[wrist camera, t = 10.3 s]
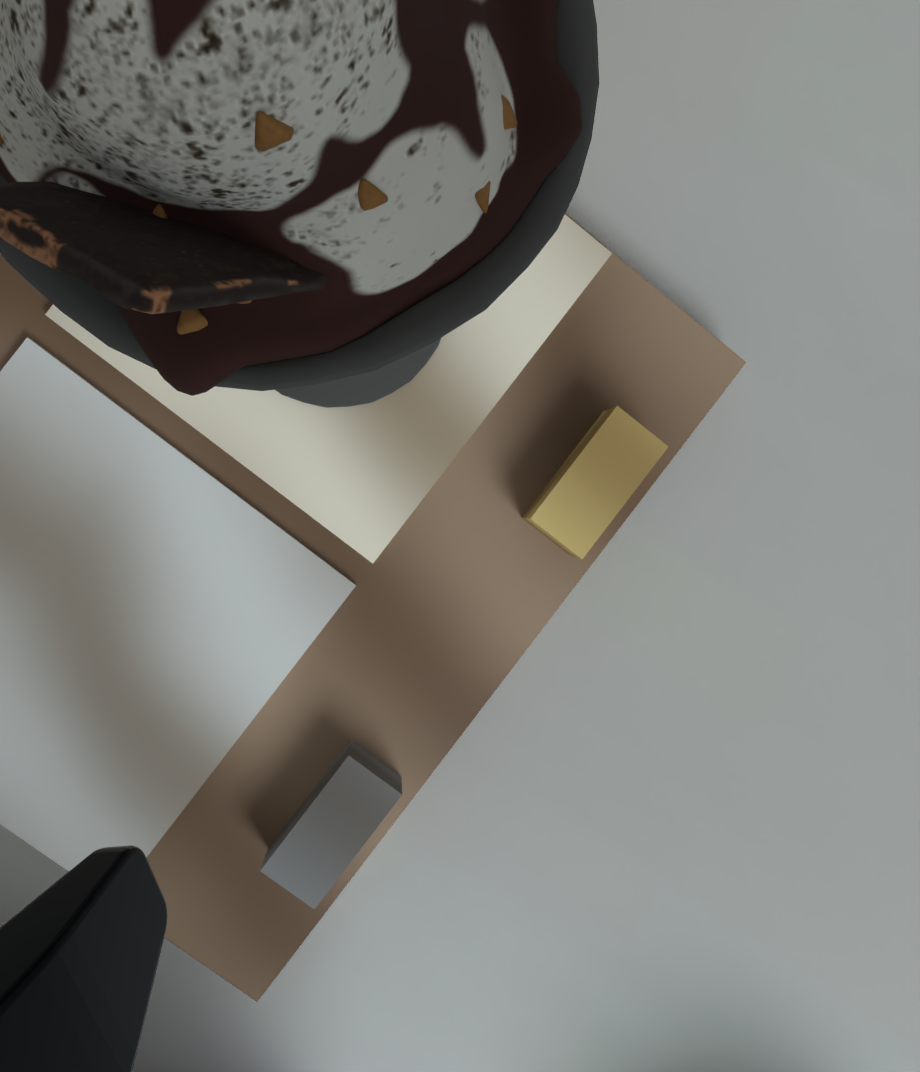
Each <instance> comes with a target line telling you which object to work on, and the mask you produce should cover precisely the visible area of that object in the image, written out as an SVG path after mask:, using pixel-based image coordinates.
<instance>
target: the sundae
mask: <svg viewBox="0 0 920 1072" xmlns="http://www.w3.org/2000/svg"><path fill="white" fill-rule="evenodd" d="M598 87H599V69H598V46H597V24H596V17H595V11H594V4H593V0H0V252H1V254H2V255H3V257H4V258H5V260H6V261H7V262H8V263H9V264H10V265H11V266H12V267H13V268H14V269H15V270H16V271H18V272H19V273H20V274H21V275H22V276H23V277H24V278H25V279H26V280H27V281H28V282H30V283H31V284H32V285H33V286H34V287H35V288H36V289H37V290H38V291H39V292H40V293H42V294H43V295H44V296H45V297H46V298H47V299H48V300H49V301H50V302H51V303H52V304H53V305H55V306H56V307H57V308H58V309H59V310H60V311H61V312H63V313H64V314H65V315H67V316H68V317H69V318H71V319H72V320H73V321H75V322H76V323H77V324H79V325H80V326H81V327H83V328H84V329H86V330H87V331H88V332H90V333H91V334H92V335H94V336H95V337H96V338H98V339H99V340H100V341H102V342H103V343H104V344H106V345H107V346H108V347H110V348H112V349H114V350H117V351H119V352H121V353H123V354H125V355H127V356H129V357H131V358H133V359H135V360H137V361H139V362H142V363H144V364H146V365H148V366H150V367H152V368H154V369H156V370H157V371H158V372H159V374H160V375H161V376H162V377H163V379H164V380H165V381H166V382H168V383H169V384H170V385H171V386H172V387H173V388H174V389H176V390H177V391H179V392H182V393H185V394H188V395H191V396H194V395H198V394H201V393H205V392H207V391H209V390H210V389H212V388H213V387H226V388H236V389H246V390H256V391H267V390H276V391H277V392H279V393H280V394H282V395H284V396H287V397H289V398H292V399H295V400H298V401H301V402H303V403H308V404H312V405H317V406H321V407H326V408H330V407H350V406H355V405H361V404H367V403H372V402H374V401H376V400H378V399H380V398H383V397H385V396H387V395H389V394H391V393H393V392H394V391H396V390H397V389H399V388H401V387H402V386H404V385H405V384H407V383H408V382H410V381H411V380H412V379H413V378H414V377H415V376H416V375H417V374H418V372H419V371H420V370H421V369H422V368H423V367H424V366H425V365H426V363H427V362H428V360H429V359H430V358H431V356H432V355H433V353H434V352H435V350H436V349H437V347H438V346H439V343H440V340H441V337H443V336H445V335H446V334H448V333H449V332H451V331H453V330H454V329H456V328H458V327H459V326H461V325H462V324H464V323H466V322H467V321H469V320H470V319H472V318H474V317H475V316H477V315H478V314H480V313H482V312H483V311H485V310H486V309H487V308H488V307H489V306H490V305H491V304H492V303H493V302H494V301H495V300H496V299H497V298H498V297H499V296H500V295H501V294H502V293H503V292H504V291H505V290H506V289H507V288H508V287H509V286H510V285H511V284H512V283H513V282H514V281H515V280H516V279H517V278H518V277H519V276H520V275H521V274H522V273H523V272H524V271H525V270H526V269H527V268H528V267H529V265H530V264H531V263H532V262H533V260H534V259H535V258H536V256H537V255H538V254H539V253H540V251H541V250H542V249H543V247H544V246H545V245H546V244H547V242H548V241H549V240H550V239H551V237H552V236H553V235H554V233H555V232H556V231H557V230H558V228H559V225H560V223H561V221H562V219H563V217H564V215H565V212H566V210H567V208H568V206H569V204H570V202H571V200H572V197H573V195H574V193H575V191H576V189H577V187H578V184H579V180H580V177H581V173H582V170H583V166H584V163H585V159H586V156H587V152H588V149H589V145H590V142H591V137H592V130H593V123H594V116H595V108H596V101H597V94H598Z"/></svg>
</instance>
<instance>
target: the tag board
mask: <svg viewBox="0 0 920 1072" xmlns="http://www.w3.org/2000/svg"><path fill="white" fill-rule="evenodd" d="M745 363H746V362H745V361H744V360H743V359H742V358H740V357H739V356H738V355H737V354H736V353H734V352H733V351H732V350H731V349H729V348H728V347H727V346H726V345H725V344H723V343H722V342H721V341H720V340H719V339H717V338H716V337H715V336H714V335H713V334H711V333H710V332H709V331H708V330H706V329H705V328H704V327H703V326H702V325H700V324H699V323H698V322H697V321H696V320H694V319H693V318H692V317H691V316H689V315H688V314H687V313H686V312H685V311H683V310H682V309H681V308H680V307H679V306H677V305H676V304H675V303H674V302H672V301H671V300H670V299H669V298H668V297H666V296H665V295H664V294H663V293H662V292H660V291H659V290H658V289H657V288H655V287H654V286H653V285H652V284H651V283H649V282H648V281H647V280H646V279H645V278H643V277H642V276H641V275H640V274H638V273H637V272H636V271H635V270H634V269H632V268H631V267H630V266H629V265H628V264H626V263H625V262H624V261H623V260H621V259H620V258H619V257H618V256H617V255H615V254H614V253H613V252H612V251H611V250H609V249H608V248H607V247H606V246H605V245H603V244H602V243H601V242H600V241H598V240H597V239H596V238H595V237H594V236H592V235H591V234H590V233H589V232H588V231H586V230H585V229H584V228H583V227H581V226H580V225H579V224H578V223H577V222H575V221H574V220H573V219H572V218H571V217H569V216H568V215H567V214H566V213H565V215H564V217H563V219H562V221H561V223H560V225H559V228H558V230H557V231H556V232H555V233H554V235H553V236H552V237H551V239H550V240H549V241H548V242H547V244H546V245H545V246H544V247H543V249H542V250H541V251H540V253H539V254H538V255H537V256H536V258H535V259H534V260H533V262H532V263H531V264H530V265H529V267H528V268H527V269H526V270H525V271H524V272H523V273H522V274H521V275H520V276H519V277H518V278H517V279H516V280H515V281H514V282H513V283H512V284H511V285H510V286H509V287H508V288H507V289H506V290H505V291H504V292H503V293H502V294H501V295H500V296H499V297H498V298H497V299H496V300H495V301H494V302H493V303H492V304H491V305H490V306H489V307H488V308H487V309H486V310H485V311H483V312H482V313H480V314H478V315H477V316H475V317H474V318H472V319H470V320H469V321H467V322H466V323H464V324H462V325H461V326H459V327H458V328H456V329H454V330H453V331H451V332H449V333H448V334H446V335H445V336H443V337H441V340H440V343H439V346H438V347H437V349H436V350H435V352H434V353H433V355H432V356H431V358H430V359H429V360H428V362H427V363H426V365H425V366H424V367H423V368H422V369H421V370H420V371H419V372H418V374H417V375H416V376H415V377H414V378H413V379H412V380H411V381H410V382H408V383H407V384H405V385H404V386H402V387H401V388H399V389H397V390H396V391H394V392H393V393H391V394H389V395H387V396H385V397H383V398H380V399H378V400H376V401H374V402H372V403H367V404H361V405H355V406H350V407H330V408H326V407H321V406H317V405H312V404H308V403H303V402H301V401H298V400H295V399H292V398H289V397H287V396H284V395H282V394H280V393H279V392H277V391H276V390H267V391H256V390H246V389H236V388H226V387H213V388H212V389H210V390H209V391H207V392H205V393H201V394H198V395H194V396H191V395H188V394H185V393H182V392H179V391H177V390H176V389H174V388H173V387H172V386H171V385H170V384H169V383H168V382H166V381H165V380H164V379H163V377H162V376H161V375H160V374H159V372H158V371H157V370H156V369H154V368H152V367H150V366H148V365H146V364H144V363H142V362H139V361H137V360H135V359H133V358H131V357H129V356H127V355H125V354H123V353H121V352H119V351H117V350H114V349H112V348H110V347H108V346H107V345H106V344H104V343H103V342H102V341H100V340H99V339H98V338H96V337H95V336H94V335H92V334H91V333H90V332H88V331H87V330H86V329H84V328H83V327H81V326H80V325H79V324H77V323H76V322H75V321H73V320H72V319H71V318H69V317H68V316H67V315H65V314H64V313H63V312H61V311H60V310H59V309H58V308H57V307H56V306H55V305H53V304H52V303H51V302H50V301H49V300H48V299H47V298H46V297H45V296H44V295H43V294H42V293H40V292H39V291H38V290H37V289H36V288H35V287H34V286H33V285H32V284H31V283H30V282H28V281H27V280H26V279H25V278H24V277H23V276H22V275H21V274H20V273H19V272H18V271H16V270H15V269H14V268H13V267H12V266H11V265H10V264H9V263H8V262H7V261H6V260H5V258H4V257H3V255H2V256H1V257H0V824H1V825H2V826H3V827H5V828H6V829H8V830H9V831H11V832H12V833H14V834H15V835H16V836H18V837H19V838H21V839H22V840H24V841H25V842H27V843H28V844H29V845H31V846H32V847H34V848H35V849H37V850H38V851H39V852H41V853H42V854H44V855H45V856H47V857H48V858H50V859H51V860H52V861H54V862H55V863H57V864H58V865H60V866H61V867H63V868H64V869H65V870H67V871H68V872H69V871H70V870H71V869H73V868H74V867H75V866H76V865H78V864H79V863H80V862H81V861H82V860H84V859H85V858H86V857H87V856H88V855H90V854H91V853H92V852H94V851H96V850H98V849H101V848H104V847H117V846H129V845H132V846H137V847H138V848H140V849H141V850H142V851H143V852H144V854H145V856H146V858H147V860H148V863H149V865H150V867H151V870H152V872H153V874H154V876H155V879H156V881H157V883H158V885H159V888H160V890H161V892H162V894H163V897H164V899H165V902H166V907H167V926H166V931H165V935H164V938H166V939H167V940H169V941H170V942H171V943H173V944H174V945H176V946H177V947H179V948H180V949H182V950H183V951H184V952H186V953H187V954H189V955H190V956H192V957H193V958H195V959H196V960H197V961H199V962H200V963H202V964H203V965H205V966H206V967H207V968H209V969H210V970H212V971H213V972H215V973H216V974H218V975H219V976H220V977H222V978H223V979H225V980H226V981H228V982H229V983H231V984H232V985H233V986H235V987H236V988H238V989H239V990H241V991H242V992H243V993H245V994H246V995H248V996H249V997H251V998H252V999H254V1000H255V1001H256V1002H257V1001H258V1000H259V999H260V997H261V996H262V995H263V994H264V992H265V991H266V990H267V988H268V987H269V986H270V984H271V983H272V982H273V980H274V979H275V978H276V977H277V975H278V974H279V973H280V971H281V970H282V969H283V967H284V966H285V965H286V963H287V962H288V961H289V959H290V958H291V957H292V956H293V954H294V953H295V952H296V950H297V949H298V948H299V946H300V945H301V944H302V942H303V941H304V940H305V939H306V937H307V936H308V935H309V933H310V932H311V931H312V929H313V928H314V927H315V925H316V924H317V923H318V922H319V920H320V919H321V918H322V916H323V915H324V914H325V912H326V911H327V910H328V908H329V907H330V906H331V905H332V903H333V902H334V901H335V899H336V898H337V897H338V895H339V894H340V893H341V891H342V890H343V889H344V888H345V886H346V885H347V884H348V882H349V881H350V880H351V878H352V877H353V876H354V874H355V873H356V872H357V871H358V869H359V868H360V867H361V865H362V864H363V863H364V861H365V860H366V859H367V857H368V856H369V855H370V854H371V852H372V851H373V850H374V848H375V847H376V846H377V844H378V843H379V842H380V840H381V839H382V838H383V837H384V835H385V834H386V833H387V831H388V830H389V829H390V827H391V826H392V825H393V823H394V822H395V821H396V820H397V818H398V817H399V816H400V814H401V813H402V812H403V810H404V809H405V808H406V806H407V805H408V804H409V803H410V801H411V800H412V799H413V797H414V796H415V795H416V793H417V792H418V791H419V789H420V788H421V787H422V786H423V784H424V783H425V782H426V780H427V779H428V778H429V776H430V775H431V774H432V772H433V771H434V770H435V769H436V767H437V766H438V765H439V763H440V762H441V761H442V759H443V758H444V757H445V755H446V754H447V753H448V752H449V750H450V749H451V748H452V746H453V745H454V744H455V742H456V741H457V740H458V738H459V737H460V736H461V735H462V733H463V732H464V731H465V729H466V728H467V727H468V725H469V724H470V723H471V721H472V720H473V719H474V718H475V716H476V715H477V714H478V712H479V711H480V710H481V708H482V707H483V706H484V704H485V703H486V702H487V701H488V699H489V698H490V697H491V695H492V694H493V693H494V691H495V690H496V689H497V687H498V686H499V685H500V684H501V682H502V681H503V680H504V678H505V677H506V676H507V674H508V673H509V672H510V670H511V669H512V668H513V667H514V665H515V664H516V663H517V661H518V660H519V659H520V657H521V656H522V655H523V653H524V652H525V651H526V650H527V648H528V647H529V646H530V644H531V643H532V642H533V640H534V639H535V638H536V636H537V635H538V634H539V633H540V631H541V630H542V629H543V627H544V626H545V625H546V623H547V622H548V621H549V619H550V618H551V617H552V616H553V614H554V613H555V612H556V610H557V609H558V608H559V606H560V605H561V604H562V602H563V601H564V600H565V599H566V597H567V596H568V595H569V593H570V592H571V591H572V589H573V588H574V587H575V585H576V584H577V583H578V582H579V580H580V579H581V578H582V576H583V575H584V574H585V572H586V571H587V570H588V568H589V567H590V566H591V565H592V563H593V562H594V561H595V559H596V558H597V557H598V555H599V554H600V553H601V551H602V550H603V549H604V548H605V546H606V545H607V544H608V542H609V541H610V540H611V538H612V537H613V536H614V534H615V533H616V532H617V531H618V529H619V528H620V527H621V525H622V524H623V523H624V521H625V520H626V519H627V517H628V516H629V515H630V514H631V512H632V511H633V510H634V508H635V507H636V506H637V504H638V503H639V502H640V500H641V499H642V498H643V497H644V495H645V494H646V493H647V491H648V490H649V489H650V487H651V486H652V485H653V483H654V482H655V481H656V480H657V478H658V477H659V476H660V474H661V473H662V472H663V470H664V469H665V468H666V466H667V465H668V464H669V463H670V461H671V460H672V459H673V457H674V456H675V455H676V453H677V452H678V451H679V449H680V448H681V447H682V446H683V444H684V443H685V442H686V440H687V439H688V438H689V436H690V435H691V434H692V432H693V431H694V430H695V429H696V427H697V426H698V425H699V423H700V422H701V421H702V419H703V418H704V417H705V415H706V414H707V413H708V412H709V410H710V409H711V408H712V406H713V405H714V404H715V402H716V401H717V400H718V398H719V397H720V396H721V395H722V393H723V392H724V391H725V389H726V388H727V387H728V385H729V384H730V383H731V381H732V380H733V379H734V378H735V376H736V375H737V374H738V372H739V371H740V370H741V368H742V367H743V366H744V364H745Z"/></svg>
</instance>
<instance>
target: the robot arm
mask: <svg viewBox="0 0 920 1072" xmlns="http://www.w3.org/2000/svg"><path fill="white" fill-rule="evenodd" d="M166 926H167V907H166V902H165V899H164V897H163V894H162V892H161V890H160V888H159V885H158V883H157V881H156V879H155V876H154V874H153V872H152V870H151V867H150V865H149V863H148V860H147V858H146V856H145V854H144V852H143V851H142V850H141V849H140V848H138V847H137V846H132V845H129V846H117V847H104V848H101V849H98V850H96V851H94V852H92V853H91V854H90V855H88V856H87V857H86V858H85V859H84V860H82V861H81V862H80V863H79V864H78V865H76V866H75V867H74V868H73V869H71V870H70V871H69V872H68V873H67V874H65V875H64V876H63V877H62V878H60V879H59V880H58V881H57V882H56V883H54V884H53V885H52V886H51V887H50V888H48V889H47V890H46V891H45V892H43V893H42V894H41V895H40V896H39V897H37V898H36V899H35V900H34V901H32V902H31V903H30V904H29V905H28V906H26V907H25V908H24V909H23V910H22V911H20V912H19V913H18V914H17V915H15V916H14V917H13V918H12V919H11V920H9V921H8V922H7V923H6V924H5V925H3V926H2V927H1V928H0V1072H132V1069H133V1065H134V1061H135V1057H136V1053H137V1049H138V1045H139V1041H140V1036H141V1032H142V1028H143V1024H144V1020H145V1015H146V1011H147V1007H148V1003H149V999H150V994H151V990H152V986H153V982H154V978H155V973H156V969H157V965H158V961H159V956H160V952H161V948H162V944H163V940H164V935H165V931H166Z"/></svg>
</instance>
